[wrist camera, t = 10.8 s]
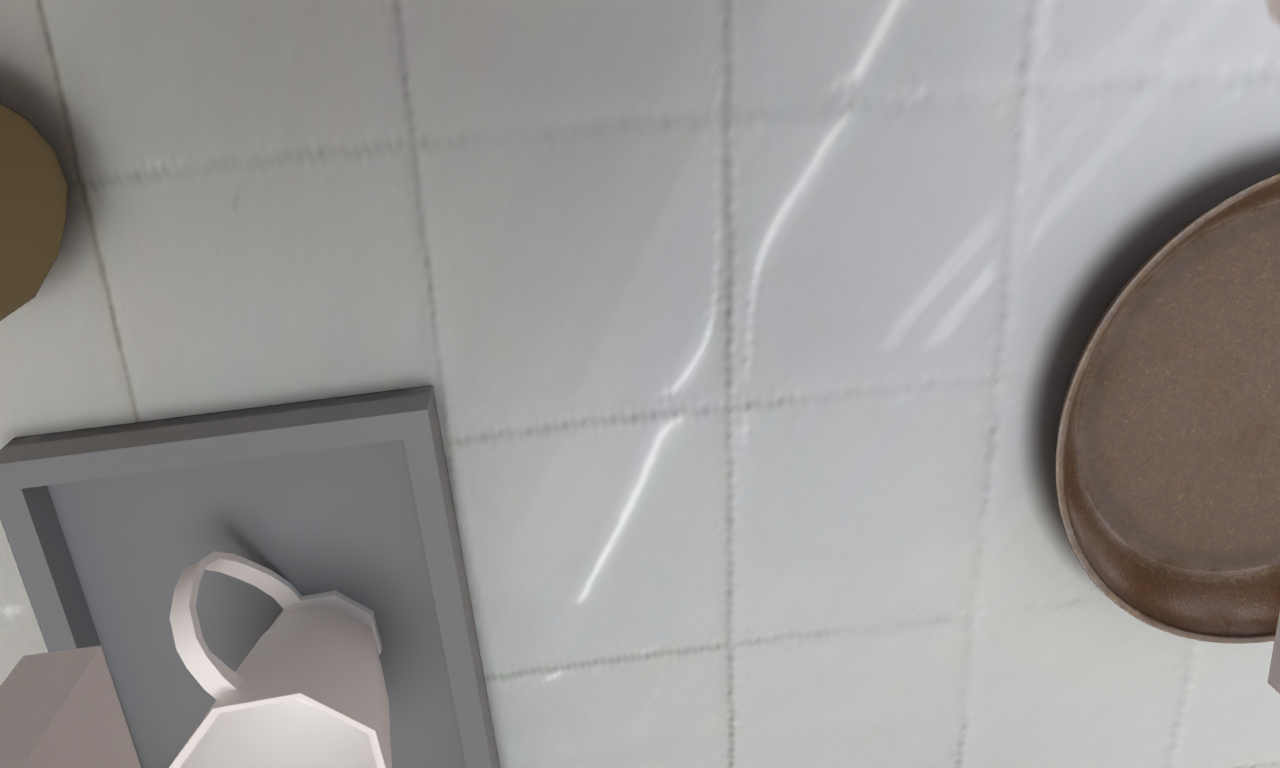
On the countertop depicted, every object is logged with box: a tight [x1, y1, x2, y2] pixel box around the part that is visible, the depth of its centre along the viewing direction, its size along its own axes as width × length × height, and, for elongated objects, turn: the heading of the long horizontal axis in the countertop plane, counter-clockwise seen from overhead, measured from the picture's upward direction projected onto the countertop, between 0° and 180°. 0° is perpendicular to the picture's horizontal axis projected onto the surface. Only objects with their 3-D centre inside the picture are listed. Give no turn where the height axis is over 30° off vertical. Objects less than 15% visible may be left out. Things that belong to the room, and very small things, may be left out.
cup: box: [169, 551, 392, 768], centre depth 36 cm, size 7×10×8 cm
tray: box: [0, 386, 500, 768], centre depth 39 cm, size 20×15×2 cm
